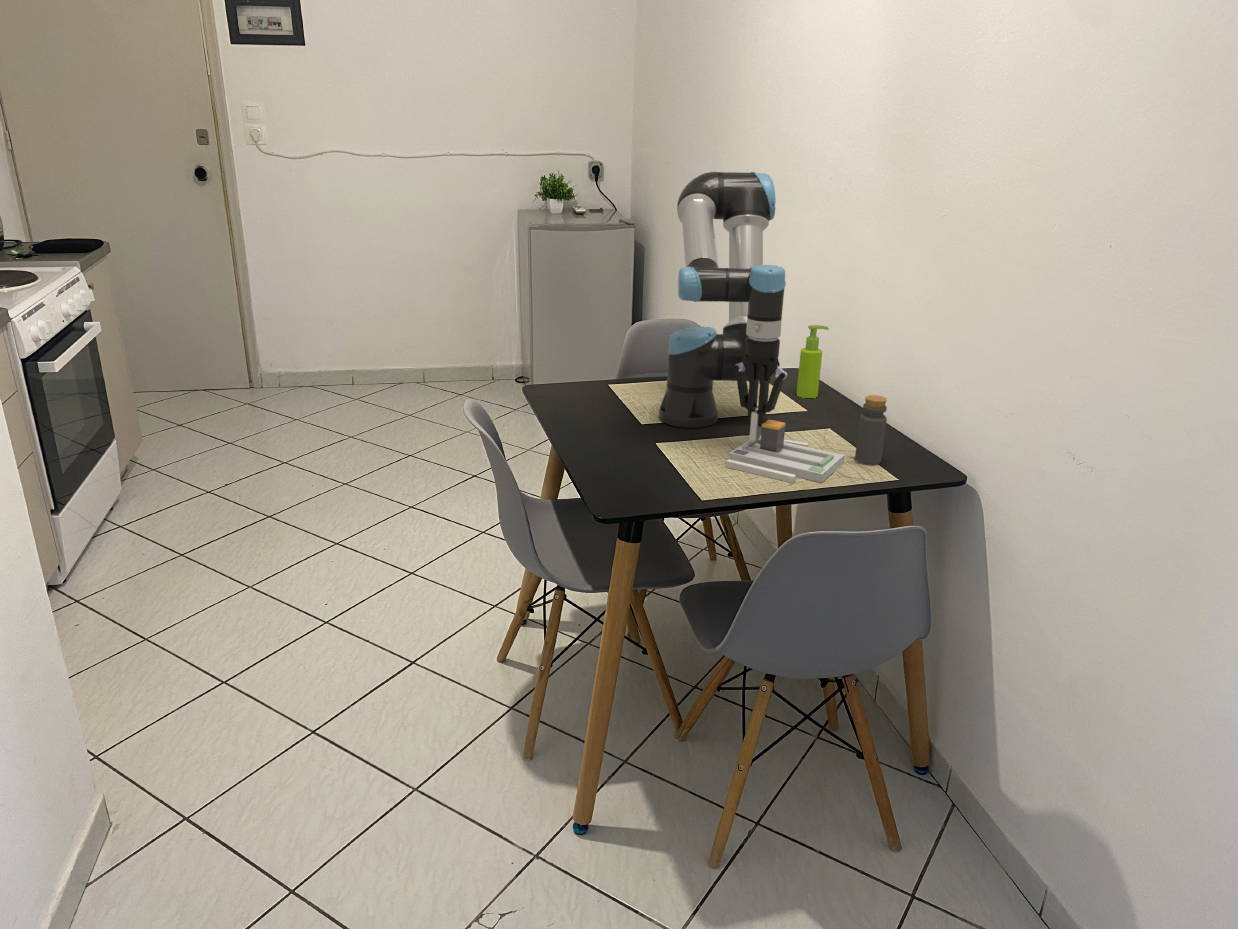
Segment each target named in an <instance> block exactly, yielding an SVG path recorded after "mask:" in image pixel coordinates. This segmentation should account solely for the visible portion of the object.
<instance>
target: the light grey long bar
mask: <svg viewBox="0 0 1238 929" xmlns="http://www.w3.org/2000/svg"><path fill="white" fill-rule="evenodd" d="M725 468H729V469H732V470H733V469H734V470H737V471H742V472H746V473H750V474H753V475H757V476H761V477H767V478H769V479H774V480H780V481H783V482H788V483H791V484H793V483H795V482H796V479H797V477H796V475H794V474H790V473H786V472H781V471H777V470H773V469H768V468H764V467H760V466H756V465H751V464H747V463H743V462H739V461H734V460H730V459H729V458H728V459H727V460H726V461H725Z"/></svg>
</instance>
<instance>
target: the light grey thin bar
mask: <svg viewBox="0 0 1238 929" xmlns="http://www.w3.org/2000/svg"><path fill="white" fill-rule="evenodd" d="M760 437H761V436H760ZM784 442H787V443H791V444H796V445H800V446H805V447H809V442H805V441H804V442H803V441H799V440H798V441H796V440H790V439H785V438H784Z"/></svg>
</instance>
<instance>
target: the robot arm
mask: <svg viewBox="0 0 1238 929" xmlns="http://www.w3.org/2000/svg"><path fill="white" fill-rule="evenodd" d="M676 208H677V217H678V220H679V221H680V223H682V234H683V248H684V262H685V267H681V268H680V269H679V270H678V278H677V279H678V280H677V281H678V282H677V288H678V289H677V296H678V298H679V299H680V300H681V301H686V302H694V303H698V302H701V303H702V302H705V303H706V302H711V303H712V302H715V303H717V302H719V303H720V302H724V303H725V302H726V303H728V322H727V323H726V324H725V325H724V326H723V328H722V333H721V334H719V333H717V330H716V329H715V328H714V327H710V326H690V327H686V328H681V329H678V330H676V331H674V332H673V333H672V334H671V335H670V337H669V342H668V349H667V354H668V357H667V360H668V361H667V363H668V364H667V375H666V376H667V377H666V378H667V379H666V382H667V383H666V390H665V393H664V396H663V398H662V401H661V403H660V407H659V408H658V409H659V410H658V412H659V413H658V418H659V420H660V421H661V422H662V423H664V424H666V425H669V426H673V427H678V428H688V429H692V428H693V429H695V428H696V429H697V428H705V427H709V426H712V425H714V424H716V423H717V422H718V418H719V416H718V415H719V412H718V411H719V410H718V408H717V404H716V400H715V397H714V391H713V390H714V389H713V388H714V385H713V384H714V381H721V382H722V381H724V382H726V381H727V382H729V381H730V382H736V384H737V391H738V399H739V403H740V404H739V405H740V407H741V408H745V409H746V410H747V422H746V423H747V424H748V425H750V427H749V439H748V440H754V441H756V440H758V439H759V438H760V436H761V431H762V424H763V423H765V422H766V417H767V413H770V412H772V411H773V410H775V408H776V406H777V402H778V400H779V396H780V393H781V390H782V387H783V384H784V381H785V380H786V379H787V378H788V377H789V375H790V374H789V373H790V372H788V371H787V370H785V371H784V369H782V368H781V367H780V365H781V364H780V362H779V355H780V344H781V340H780V339H779V338H780V337H781V335H782V334H781V333H782V319H783V306H784V298H785V288H786V283H787V282H786V269H785V268H783V267H782V266H778V265H776V264H775V265H774V264H764V247H763V246H764V235H763V234H764V231H765V230H766V229H767V228H768V227H769V225H770V221H772V220H773V219H774V218H775V214H776V190H775V185H774V181H773V179H772V177H771V176H770V175H769V174H767V173H763V172H762V173H761V172H755V171H751V172H734V171H733V172H729V171H728V172H727V171H709V172H705V173H702V174H700V175H698V176H696V177H695V178H693V179H692V180H690V182H689V183H687V184H686V186H684V188H683V190H682V191H681V193H680V195H679V197H678V200H677V207H676ZM714 220H722V225H723V229H725V231H727V232H728V234H729V235H728V242H729V245H728V251H729V252H728V267H719V261H718V259H719V258H718V253H717V245H716V244H717V243H716V236H715V228H714ZM774 374H775V375H774ZM773 375H774V377H775V380H774V382H773V385H772V389H771V391H770V382H771V378H772V377H773ZM748 383H749V384H748Z"/></svg>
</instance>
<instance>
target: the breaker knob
mask: <svg viewBox="0 0 1238 929" xmlns="http://www.w3.org/2000/svg"><path fill="white" fill-rule="evenodd" d="M785 431H786V422H782V421H778V420H773V419H768V420H767V421H766V420H765V423H763V424H762V427H761V443H760V449H763V450H767V451H772V452H776V453H777V452H778V451H779V450H781V449H782V448H783V445H784V439H785V434H786V433H785Z"/></svg>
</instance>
